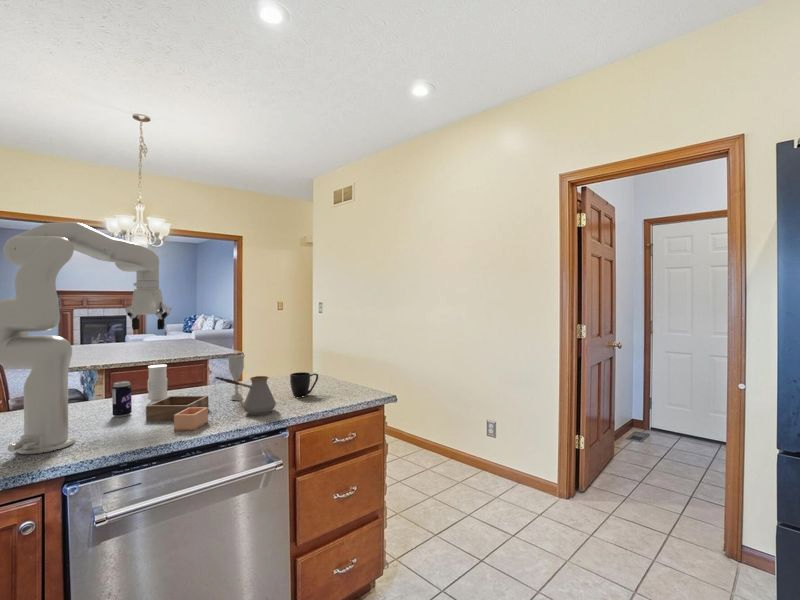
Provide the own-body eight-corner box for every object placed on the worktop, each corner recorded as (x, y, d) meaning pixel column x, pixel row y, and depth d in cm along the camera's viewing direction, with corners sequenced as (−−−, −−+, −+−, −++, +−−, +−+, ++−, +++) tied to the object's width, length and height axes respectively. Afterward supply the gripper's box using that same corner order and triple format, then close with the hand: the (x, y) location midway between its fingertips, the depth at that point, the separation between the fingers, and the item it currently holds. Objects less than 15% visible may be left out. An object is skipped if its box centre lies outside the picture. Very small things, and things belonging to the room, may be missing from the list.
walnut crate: (188, 420, 140) (188, 405, 140) (146, 420, 140) (146, 406, 140) (208, 408, 155) (208, 395, 155) (170, 409, 155) (170, 396, 155)
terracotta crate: (194, 430, 129) (194, 414, 129) (174, 430, 129) (173, 415, 129) (208, 422, 138) (207, 407, 138) (189, 422, 138) (188, 407, 138)
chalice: (245, 400, 167) (245, 356, 167) (227, 402, 165) (227, 357, 165) (245, 396, 174) (244, 354, 174) (227, 398, 172) (227, 355, 172)
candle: (145, 403, 164) (145, 366, 164) (164, 399, 170) (163, 364, 170) (150, 406, 160) (150, 367, 160) (170, 402, 165) (169, 365, 165)
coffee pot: (269, 406, 157) (269, 368, 157) (280, 413, 148) (280, 372, 148) (210, 416, 145) (209, 374, 145) (217, 424, 135) (217, 379, 135)
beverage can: (121, 418, 143) (121, 384, 143) (108, 417, 145) (108, 383, 145) (135, 413, 149) (135, 381, 149) (122, 413, 150) (122, 380, 150)
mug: (321, 395, 175) (320, 373, 175) (293, 399, 169) (293, 376, 169) (315, 392, 182) (315, 370, 182) (288, 395, 176) (288, 373, 176)
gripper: (119, 285, 155) (119, 330, 155) (164, 285, 155) (164, 329, 155) (132, 286, 163) (132, 328, 163) (175, 285, 163) (175, 328, 163)
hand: (148, 329), depth 159 cm, fingers open, 9 cm apart
